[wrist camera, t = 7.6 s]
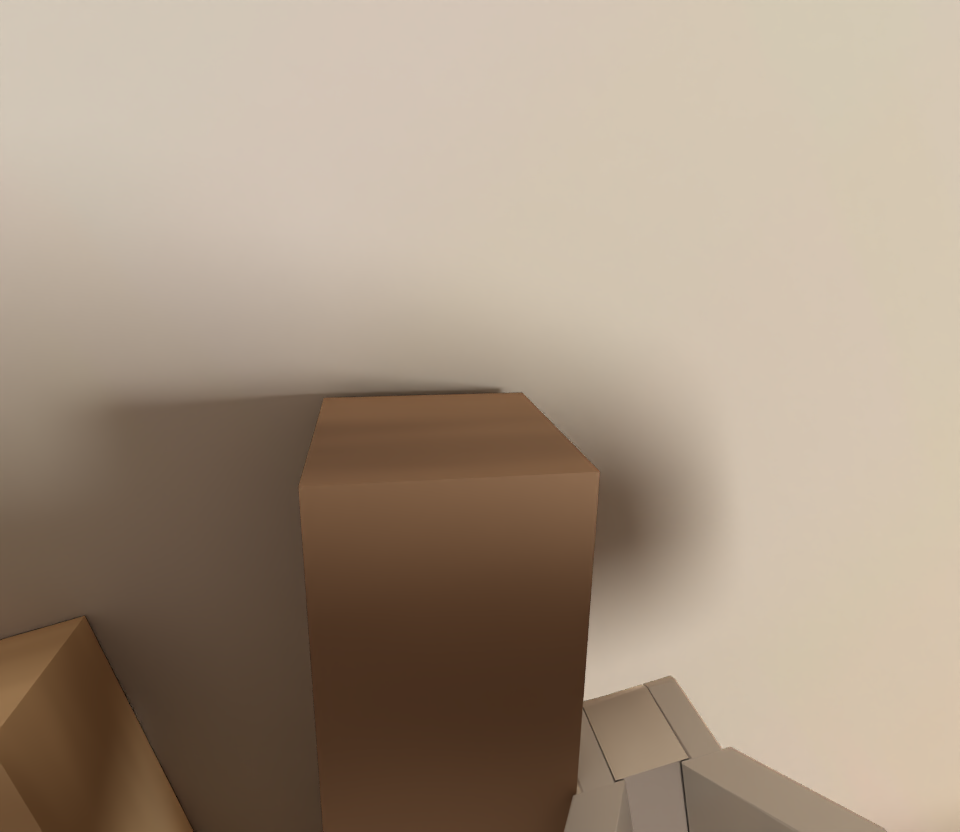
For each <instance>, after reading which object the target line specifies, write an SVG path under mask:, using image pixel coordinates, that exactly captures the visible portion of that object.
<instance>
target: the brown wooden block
mask: <svg viewBox="0 0 960 832" xmlns="http://www.w3.org/2000/svg"><path fill="white" fill-rule="evenodd" d="M599 478H600V471H599V470H598V469H597V468H596V467H595V466H594V465H593V464H592V463H591V462H590V461H589V460H588V459H587V458H586V457H585V456H584V455H583V454H582V453H581V452H580V451H579V450H578V449H577V448H576V447H575V446H574V445H573V444H572V443H571V442H570V441H569V440H568V439H567V438H566V437H565V436H564V435H563V434H562V433H561V432H560V431H559V430H558V429H557V428H556V427H555V426H554V425H553V424H552V423H551V421H550V420H549V419H548V418H547V417H546V416H545V415H544V414H543V413H542V412H541V411H540V410H539V409H538V408H537V407H536V406H535V405H534V404H533V403H532V402H531V401H530V400H529V399H528V398H527V397H526V396H525V395H524V394H523V393H487V394H449V395H412V396H375V397H338V398H324V399H323V402H322V406H321V409H320V413H319V416H318V420H317V423H316V427H315V430H314V434H313V437H312V441H311V444H310V448H309V451H308V455H307V458H306V462H305V465H304V469H303V472H302V476H301V479H300V483H299V486H298V489H299V503H300V517H301V531H302V545H303V560H304V574H305V588H306V602H307V616H308V630H309V644H310V658H311V672H312V686H313V700H314V714H315V728H316V742H317V756H318V770H319V784H320V798H321V812H322V826H323V832H564V829H565V825H566V821H567V817H568V813H569V809H570V805H571V801H572V798H573V795H576V793H577V779H578V765H579V751H580V738H581V724H582V710H583V697H584V683H585V669H586V656H587V642H588V628H589V615H590V601H591V587H592V573H593V560H594V546H595V532H596V519H597V505H598V491H599Z"/></svg>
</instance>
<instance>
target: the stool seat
mask: <svg viewBox="0 0 960 832" xmlns="http://www.w3.org/2000/svg"><path fill="white" fill-rule="evenodd" d="M0 832H194V831H193V829H192V827H191V825H190V823H189V821H188V819H187V817H186V815H185V813H184V811H183V809H182V808H181V806H180V804H179V802H178V800H177V798H176V796H175V794H174V792H173V790H172V788H171V786H170V784H169V782H168V780H167V778H166V776H165V774H164V772H163V770H162V768H161V766H160V764H159V762H158V760H157V758H156V756H155V754H154V752H153V750H152V748H151V746H150V744H149V742H148V740H147V738H146V736H145V734H144V732H143V730H142V728H141V726H140V724H139V722H138V720H137V718H136V716H135V714H134V712H133V710H132V708H131V706H130V704H129V702H128V700H127V698H126V696H125V694H124V692H123V690H122V688H121V687H120V685H119V683H118V681H117V679H116V677H115V675H114V673H113V671H112V669H111V667H110V665H109V663H108V661H107V659H106V657H105V655H104V653H103V651H102V649H101V647H100V645H99V643H98V641H97V639H96V637H95V635H94V633H93V631H92V629H91V627H90V625H89V623H88V621H87V619H86V617H85V616H82V617H79V618H75V619H72V620H68V621H65V622H61V623H58V624H54V625H51V626H47V627H44V628H40V629H37V630H33V631H30V632H26V633H23V634H19V635H16V636H12V637H9V638H5V639H2V640H0Z"/></svg>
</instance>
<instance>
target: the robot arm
mask: <svg viewBox="0 0 960 832" xmlns="http://www.w3.org/2000/svg"><path fill="white" fill-rule="evenodd" d="M564 832H887V831H886V830H885V829H884V828H882V827H880V826H879V825H877V824H875V823H873V822H871V821H869V820H867V819H865V818H864V817H862V816H860V815H858V814H856V813H854V812H852V811H850V810H849V809H847V808H845V807H843V806H841V805H839V804H837V803H835V802H833V801H832V800H830V799H828V798H826V797H824V796H822V795H820V794H818V793H817V792H815V791H813V790H811V789H809V788H807V787H805V786H803V785H802V784H800V783H798V782H796V781H794V780H792V779H790V778H788V777H787V776H785V775H783V774H781V773H779V772H777V771H775V770H773V769H772V768H770V767H768V766H766V765H764V764H762V763H760V762H758V761H756V760H755V759H753V758H751V757H749V756H747V755H745V754H743V753H741V752H740V751H738V750H736V749H734V748H732V747H728V748H725V749H722V748H721V746H720V745H719V743H718V742H717V740H716V739H715V737H714V736H713V734H712V733H711V732H710V730H709V729H708V727H707V726H706V724H705V723H704V721H703V720H702V718H701V717H700V715H699V714H698V712H697V711H696V709H695V708H694V706H693V705H692V703H691V702H690V700H689V699H688V697H687V696H686V694H685V693H684V691H683V690H682V688H681V687H680V685H679V684H678V682H677V681H676V679H675V678H673V677H672V676H667V677H664V678H661V679H658V680H654V681H651V682H648V683H644V684H643V685H638V686H634V687H631V688H628V689H625V690H621V691H618V692H615V693H612V694H608V695H605V696H601V697H598V698H594V699H590V700H586V701H583V710H582V724H581V738H580V751H579V765H578V779H577V793H576V795H573V798H572V801H571V805H570V809H569V813H568V817H567V821H566V825H565V829H564Z"/></svg>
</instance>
